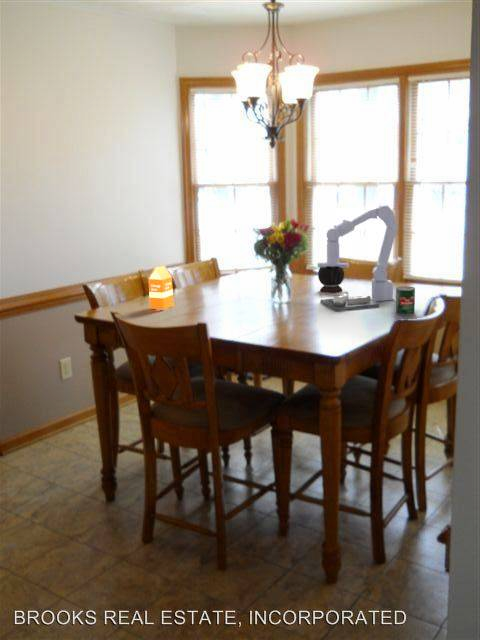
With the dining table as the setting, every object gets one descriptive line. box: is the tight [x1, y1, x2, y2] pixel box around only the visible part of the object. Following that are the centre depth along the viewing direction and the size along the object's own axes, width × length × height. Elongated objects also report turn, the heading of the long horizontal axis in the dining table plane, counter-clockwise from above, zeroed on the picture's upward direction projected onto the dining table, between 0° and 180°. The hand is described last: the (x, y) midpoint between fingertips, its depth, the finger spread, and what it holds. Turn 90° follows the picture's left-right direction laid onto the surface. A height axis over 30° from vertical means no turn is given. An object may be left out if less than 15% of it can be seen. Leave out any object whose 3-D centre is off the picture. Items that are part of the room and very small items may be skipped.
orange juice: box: [147, 264, 175, 309], centre depth 323 cm, size 8×9×20 cm
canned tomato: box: [395, 285, 416, 316], centre depth 296 cm, size 8×8×11 cm
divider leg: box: [342, 291, 350, 300], centre depth 319 cm, size 11×2×3 cm, turn 159°
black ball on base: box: [317, 261, 345, 294], centre depth 349 cm, size 13×13×15 cm
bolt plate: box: [319, 294, 380, 312], centre depth 316 cm, size 21×19×6 cm
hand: (333, 282), depth 327 cm, fingers closed
